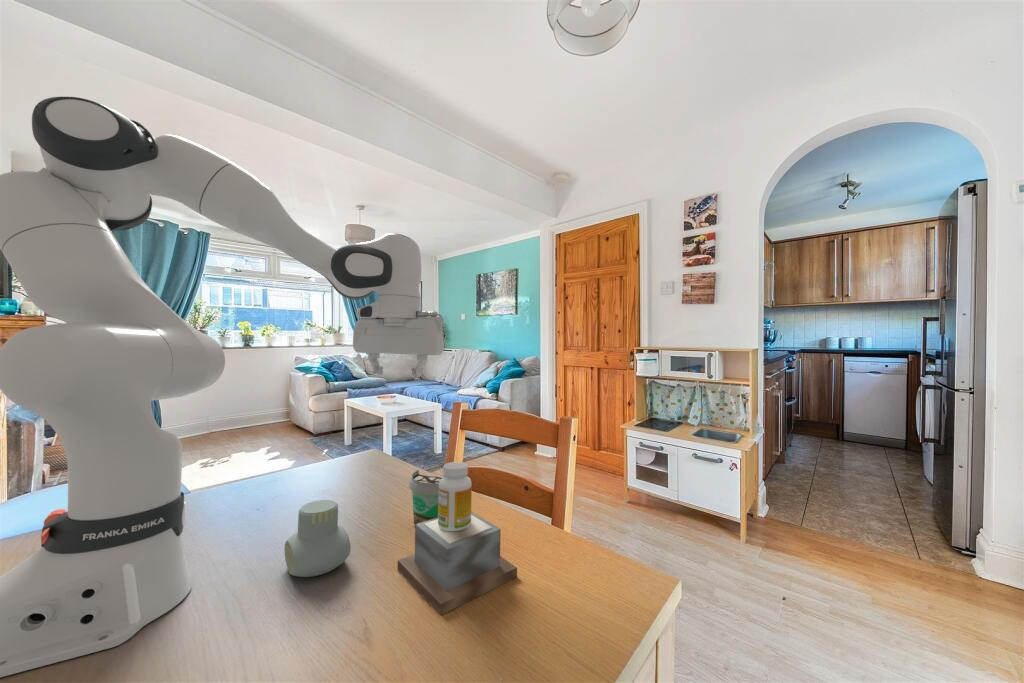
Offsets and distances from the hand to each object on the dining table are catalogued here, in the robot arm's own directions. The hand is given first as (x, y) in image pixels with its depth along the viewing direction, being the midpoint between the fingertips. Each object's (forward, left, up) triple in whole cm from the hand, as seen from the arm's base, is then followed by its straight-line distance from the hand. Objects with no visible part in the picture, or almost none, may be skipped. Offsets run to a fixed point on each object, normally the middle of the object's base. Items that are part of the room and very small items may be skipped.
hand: (397, 375), depth 82 cm
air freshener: (-17, -9, -31) cm, 36 cm away
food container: (+4, -8, -31) cm, 32 cm away
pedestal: (0, -25, -31) cm, 40 cm away
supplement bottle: (0, -25, -23) cm, 34 cm away
